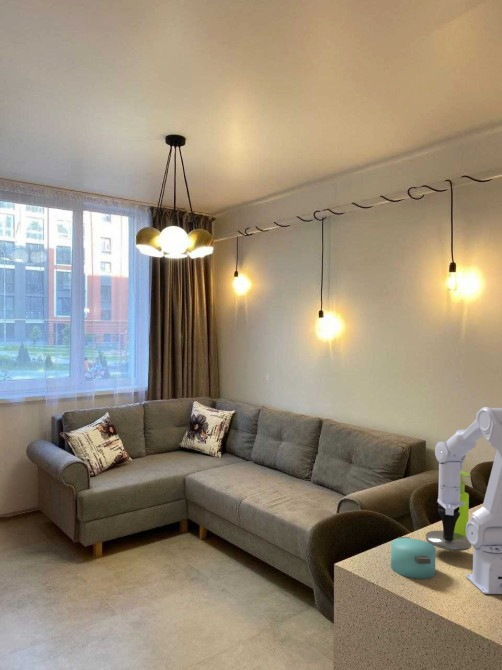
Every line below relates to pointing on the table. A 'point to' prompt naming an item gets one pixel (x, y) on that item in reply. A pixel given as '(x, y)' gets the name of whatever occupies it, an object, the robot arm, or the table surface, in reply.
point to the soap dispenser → (462, 508)
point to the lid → (448, 541)
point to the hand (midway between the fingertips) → (448, 533)
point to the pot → (413, 558)
